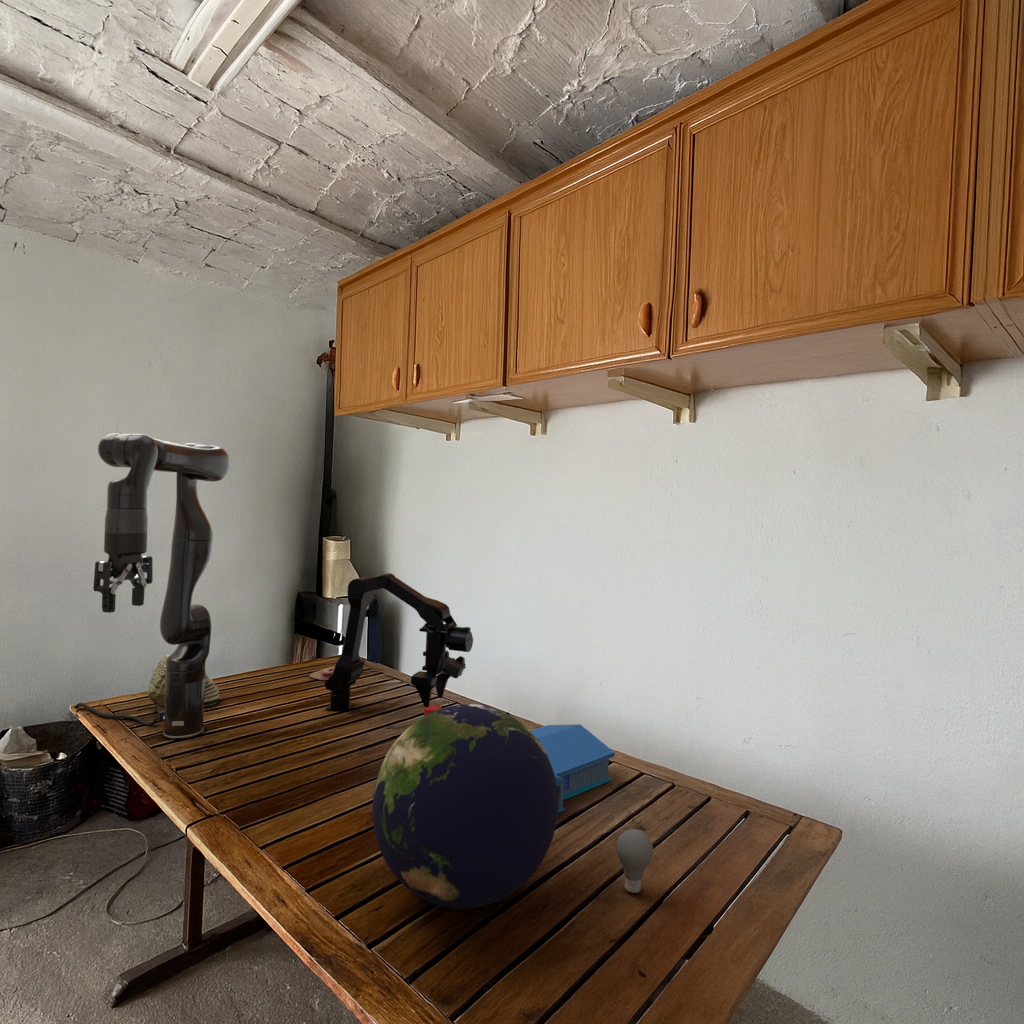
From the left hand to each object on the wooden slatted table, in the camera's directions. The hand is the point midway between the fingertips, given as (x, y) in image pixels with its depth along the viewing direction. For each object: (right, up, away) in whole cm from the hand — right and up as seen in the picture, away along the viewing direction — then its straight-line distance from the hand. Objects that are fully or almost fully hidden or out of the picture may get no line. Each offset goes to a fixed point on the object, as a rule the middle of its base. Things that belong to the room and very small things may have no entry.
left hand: (123, 608), depth 131 cm
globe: (+72, -42, -27) cm, 88 cm away
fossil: (-16, -37, +54) cm, 67 cm away
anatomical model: (+17, -38, +91) cm, 100 cm away
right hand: (+58, -34, +50) cm, 84 cm away
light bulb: (+100, -43, -25) cm, 112 cm away
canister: (+57, -40, +50) cm, 86 cm away
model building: (+83, -42, +11) cm, 94 cm away
